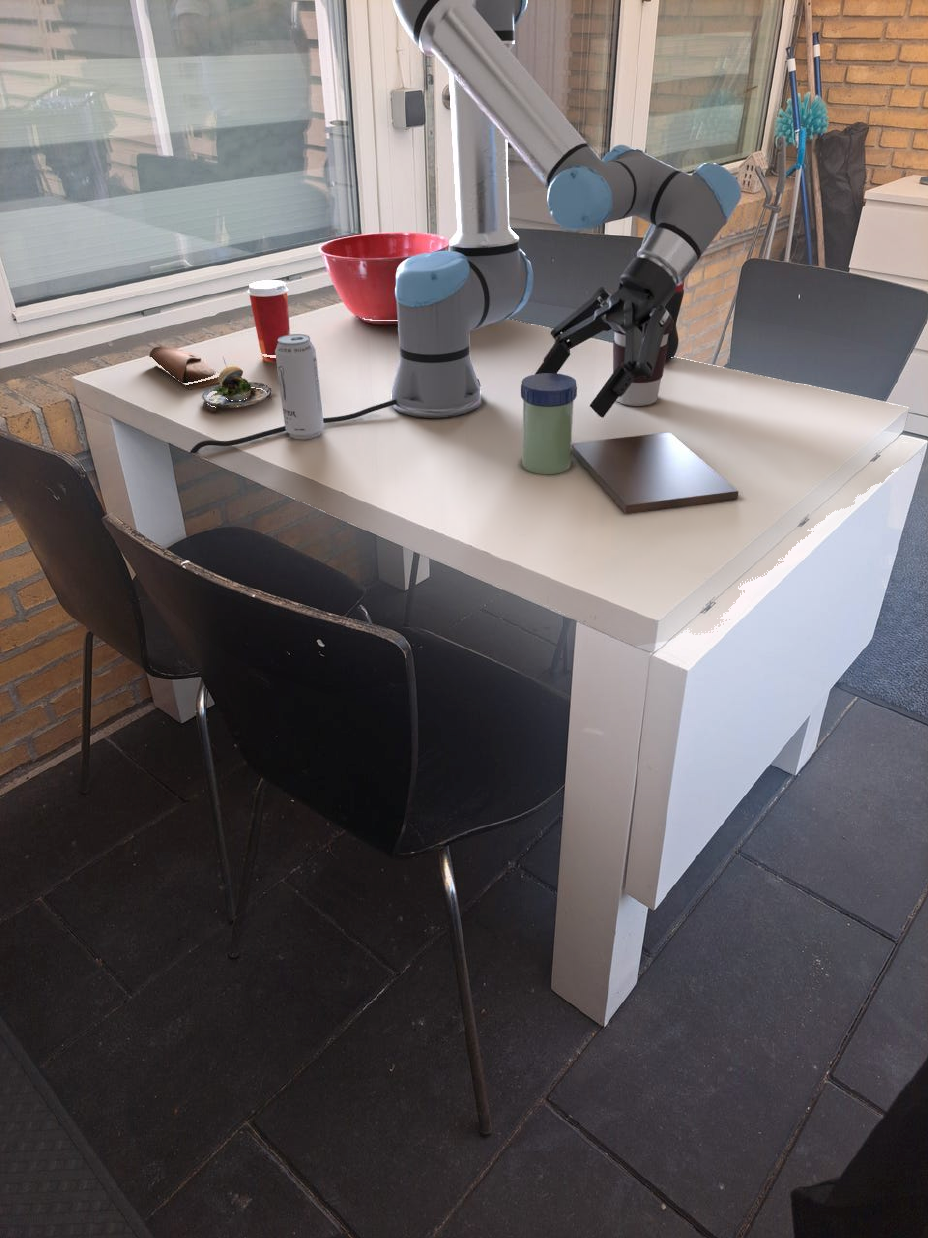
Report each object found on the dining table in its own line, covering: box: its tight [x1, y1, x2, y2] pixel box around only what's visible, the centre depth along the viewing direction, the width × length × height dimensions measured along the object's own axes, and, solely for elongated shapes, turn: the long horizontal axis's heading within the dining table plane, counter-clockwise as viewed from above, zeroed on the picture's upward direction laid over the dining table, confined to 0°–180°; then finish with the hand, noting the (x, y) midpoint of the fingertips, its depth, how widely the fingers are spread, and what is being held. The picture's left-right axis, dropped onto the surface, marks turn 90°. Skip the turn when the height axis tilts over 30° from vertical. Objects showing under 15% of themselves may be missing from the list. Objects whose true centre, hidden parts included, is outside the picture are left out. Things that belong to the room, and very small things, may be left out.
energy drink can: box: [275, 333, 325, 441], centre depth 138 cm, size 6×6×15 cm
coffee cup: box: [611, 319, 674, 407], centre depth 149 cm, size 10×10×15 cm
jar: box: [521, 399, 575, 475], centre depth 127 cm, size 7×7×12 cm
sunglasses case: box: [148, 346, 220, 390], centre depth 168 cm, size 18×7×7 cm
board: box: [571, 431, 740, 514], centre depth 127 cm, size 16×22×1 cm
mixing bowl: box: [318, 231, 451, 325], centre depth 197 cm, size 28×28×15 cm
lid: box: [520, 373, 578, 406], centre depth 125 cm, size 8×8×2 cm
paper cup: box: [246, 279, 291, 363], centre depth 173 cm, size 8×8×14 cm
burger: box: [201, 356, 273, 413], centre depth 153 cm, size 12×12×8 cm
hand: (565, 398), depth 127 cm, fingers open, 13 cm apart
